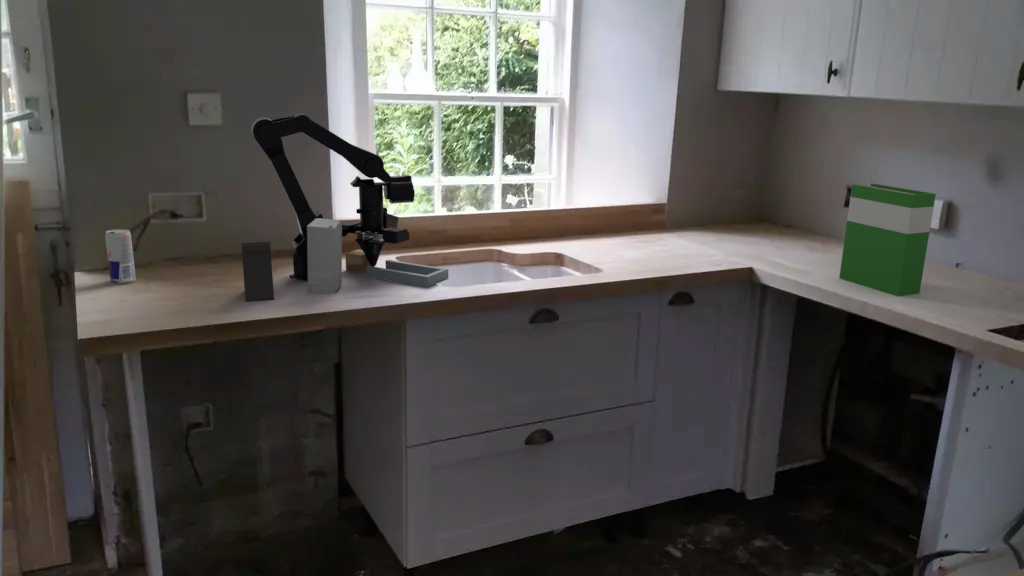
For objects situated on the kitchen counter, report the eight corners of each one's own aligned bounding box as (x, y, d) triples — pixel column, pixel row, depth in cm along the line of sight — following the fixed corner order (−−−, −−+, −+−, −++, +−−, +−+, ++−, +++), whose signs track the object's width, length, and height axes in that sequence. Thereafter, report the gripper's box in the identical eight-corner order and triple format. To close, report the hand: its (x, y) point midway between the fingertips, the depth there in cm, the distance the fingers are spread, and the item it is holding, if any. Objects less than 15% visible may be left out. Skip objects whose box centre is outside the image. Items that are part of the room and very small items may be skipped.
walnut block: (361, 273, 197) (361, 255, 196) (346, 270, 200) (345, 253, 198) (374, 268, 202) (373, 251, 200) (358, 266, 204) (357, 249, 203)
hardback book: (839, 278, 202) (851, 184, 196) (860, 275, 205) (873, 183, 199) (897, 296, 187) (913, 195, 181) (919, 293, 190) (935, 193, 184)
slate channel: (427, 287, 186) (427, 276, 185) (366, 276, 194) (366, 266, 193) (448, 278, 194) (448, 269, 193) (388, 269, 202) (388, 259, 201)
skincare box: (315, 283, 187) (312, 217, 183) (345, 284, 187) (343, 218, 183) (306, 293, 179) (302, 224, 175) (337, 294, 179) (335, 225, 175)
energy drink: (111, 279, 187) (105, 229, 184) (136, 277, 189) (131, 228, 186) (109, 285, 182) (103, 234, 179) (135, 283, 184) (129, 232, 181)
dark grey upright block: (244, 291, 180) (240, 239, 177) (272, 289, 182) (268, 238, 179) (245, 302, 172) (241, 248, 169) (274, 300, 174) (270, 246, 171)
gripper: (421, 203, 197) (422, 264, 201) (361, 196, 205) (363, 255, 209) (395, 209, 187) (396, 273, 191) (333, 202, 196) (336, 264, 200)
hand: (373, 266), depth 198 cm, fingers closed
